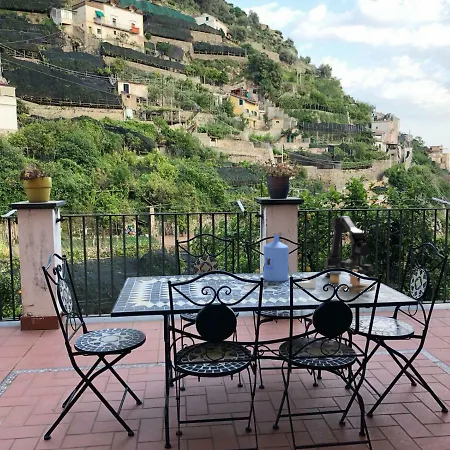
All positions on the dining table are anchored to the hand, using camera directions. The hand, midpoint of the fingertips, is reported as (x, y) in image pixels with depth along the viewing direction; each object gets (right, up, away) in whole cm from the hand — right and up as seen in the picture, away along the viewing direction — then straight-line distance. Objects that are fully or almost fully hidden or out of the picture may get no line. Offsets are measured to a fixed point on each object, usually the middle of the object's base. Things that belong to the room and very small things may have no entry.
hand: (355, 280), depth 246 cm
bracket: (-29, -5, +5) cm, 30 cm away
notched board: (+1, -5, -1) cm, 5 cm away
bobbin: (-9, -4, +9) cm, 14 cm away
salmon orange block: (0, -2, 0) cm, 2 cm away
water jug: (-43, -3, +24) cm, 49 cm away
